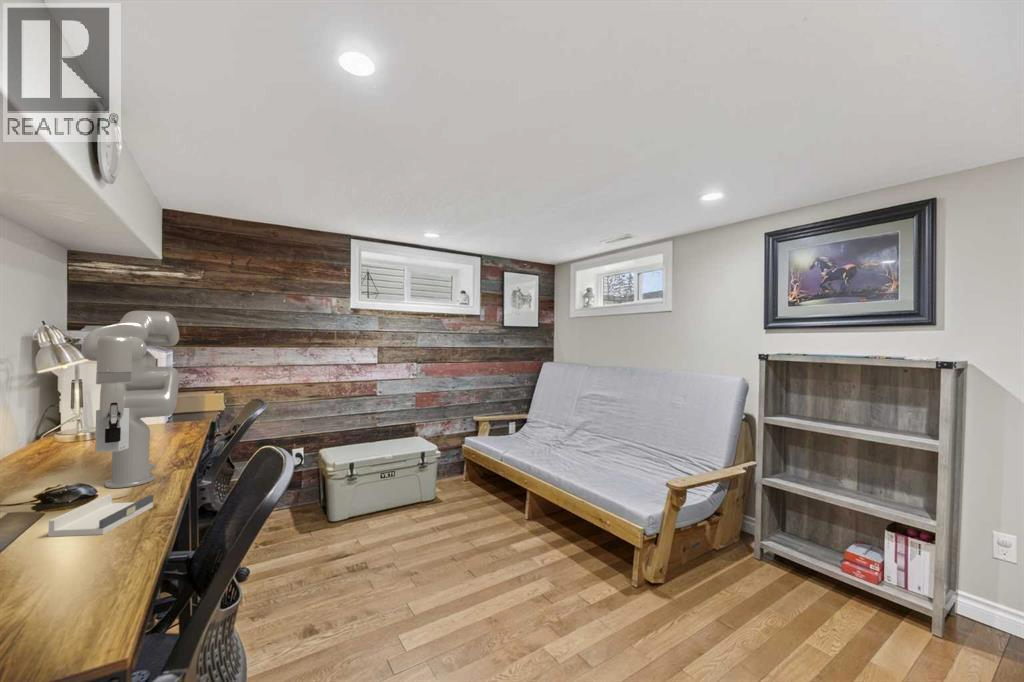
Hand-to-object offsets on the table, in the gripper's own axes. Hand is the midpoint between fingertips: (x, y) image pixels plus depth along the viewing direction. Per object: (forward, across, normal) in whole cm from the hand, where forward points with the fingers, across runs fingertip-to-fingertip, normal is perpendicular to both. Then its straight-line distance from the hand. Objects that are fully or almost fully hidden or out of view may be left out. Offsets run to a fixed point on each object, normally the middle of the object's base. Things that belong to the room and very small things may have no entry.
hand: (112, 439), depth 121 cm
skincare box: (+3, 0, 0) cm, 3 cm away
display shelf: (+20, +9, -1) cm, 22 cm away
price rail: (+19, +12, +3) cm, 23 cm away
